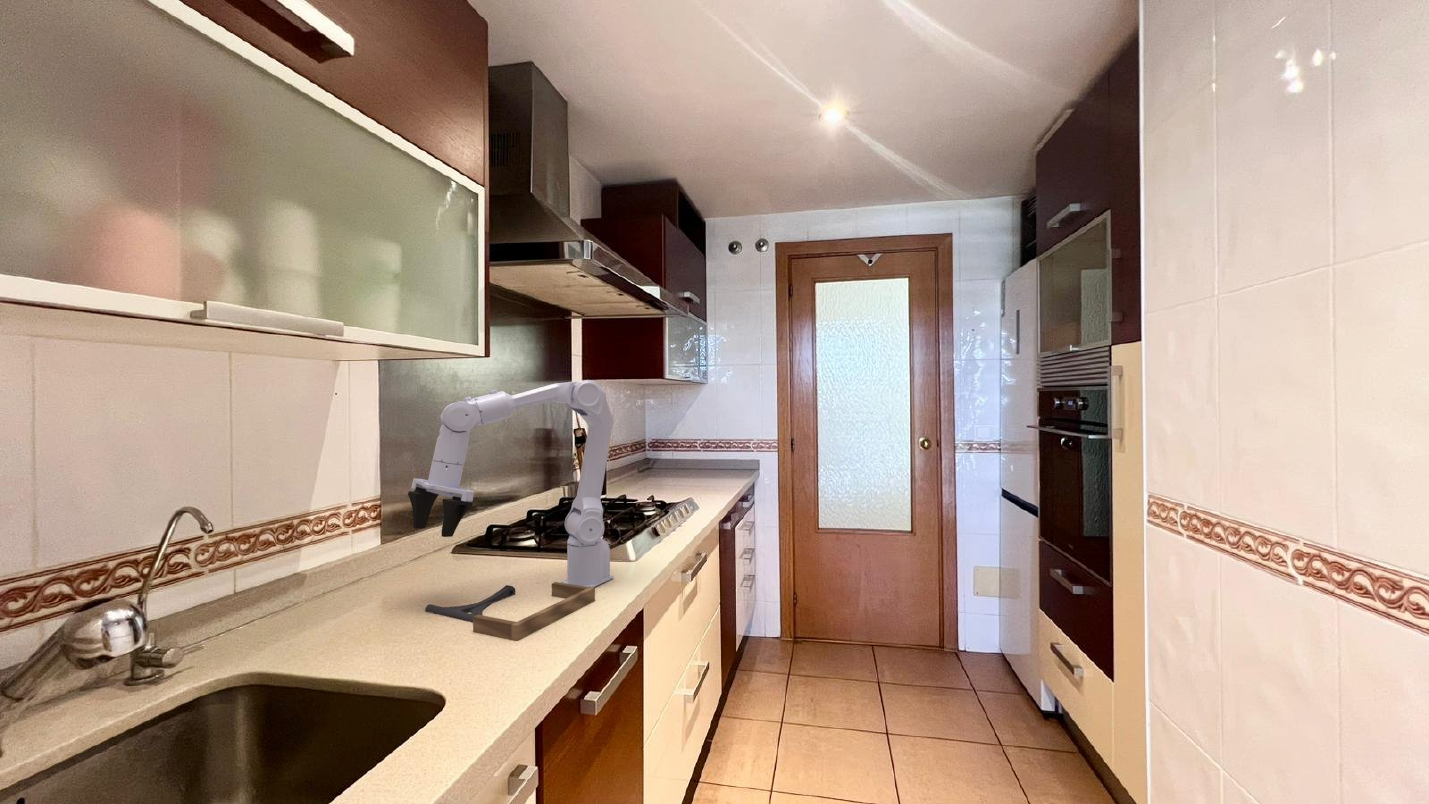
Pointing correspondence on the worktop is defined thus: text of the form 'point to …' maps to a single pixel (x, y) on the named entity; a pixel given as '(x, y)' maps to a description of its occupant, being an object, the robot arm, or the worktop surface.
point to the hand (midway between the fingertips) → (432, 532)
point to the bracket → (471, 606)
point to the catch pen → (534, 622)
